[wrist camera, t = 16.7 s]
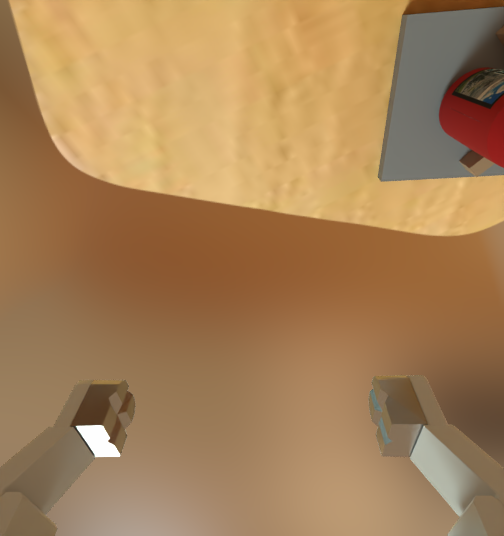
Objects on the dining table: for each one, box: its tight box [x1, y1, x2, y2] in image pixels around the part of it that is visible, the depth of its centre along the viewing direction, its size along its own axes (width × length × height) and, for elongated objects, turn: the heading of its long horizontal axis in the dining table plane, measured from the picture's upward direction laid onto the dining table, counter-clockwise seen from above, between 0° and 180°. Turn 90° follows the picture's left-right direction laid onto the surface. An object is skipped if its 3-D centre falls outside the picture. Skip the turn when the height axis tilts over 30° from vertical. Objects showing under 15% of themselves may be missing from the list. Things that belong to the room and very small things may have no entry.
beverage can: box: [439, 67, 504, 168], centre depth 30 cm, size 7×7×12 cm
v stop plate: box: [378, 7, 504, 182], centre depth 35 cm, size 16×16×4 cm
